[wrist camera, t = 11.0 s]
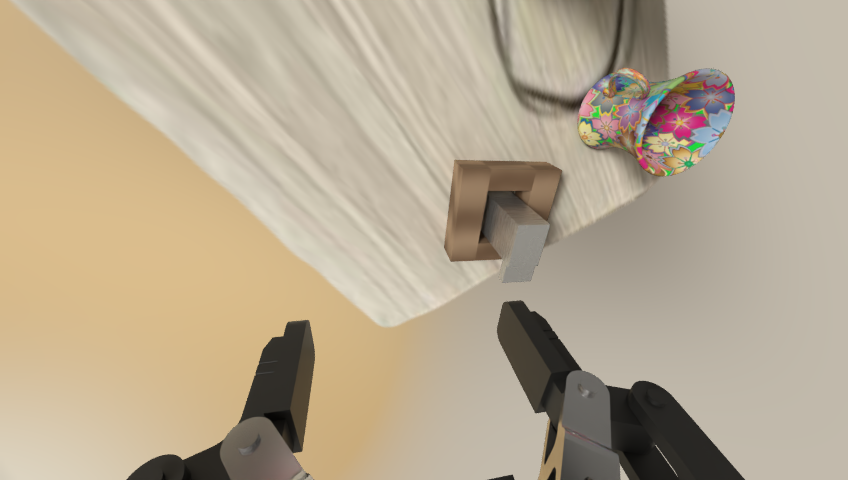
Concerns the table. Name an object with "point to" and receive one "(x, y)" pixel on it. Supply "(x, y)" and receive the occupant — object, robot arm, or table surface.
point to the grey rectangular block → (514, 234)
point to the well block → (469, 200)
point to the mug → (658, 117)
